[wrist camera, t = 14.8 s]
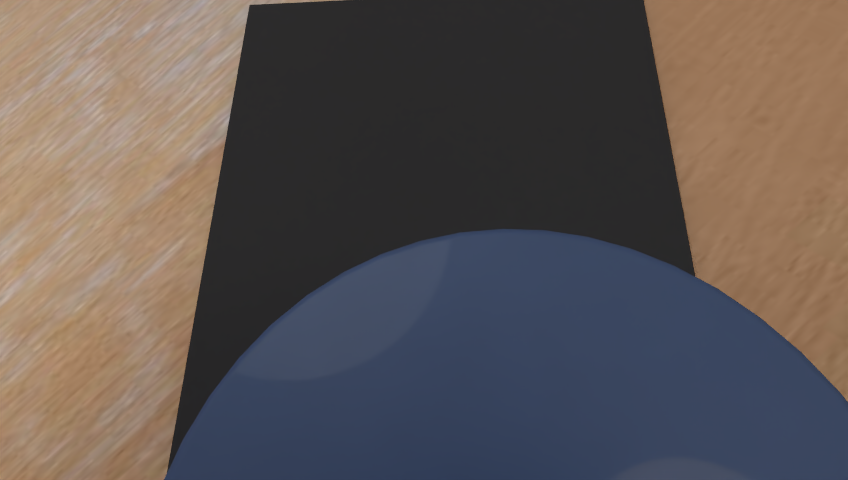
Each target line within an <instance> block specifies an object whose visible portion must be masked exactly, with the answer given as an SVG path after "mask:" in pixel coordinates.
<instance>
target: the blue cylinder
mask: <svg viewBox="0 0 848 480" xmlns="http://www.w3.org/2000/svg"><path fill="white" fill-rule="evenodd" d="M164 480H848V402H847V401H846V399H845V398H844V397H843V396H842V394H841V393H840V392H839V391H838V390H837V389H836V388H835V387H834V386H833V385H832V384H831V383H830V382H829V381H828V380H827V379H826V378H825V377H824V375H823V374H822V373H821V372H820V371H819V370H818V369H817V368H816V367H815V366H814V365H813V364H812V363H811V362H810V361H809V360H808V359H807V358H806V357H805V356H804V355H803V354H802V353H801V352H800V351H799V350H798V349H797V348H795V347H794V346H793V345H792V344H791V343H790V342H788V341H787V340H786V339H785V338H784V337H782V336H781V335H780V334H779V333H778V332H776V331H775V330H774V329H773V328H772V327H771V326H769V325H768V324H767V323H766V322H765V321H763V320H762V319H761V318H760V317H758V316H757V315H755V314H754V313H753V312H751V311H750V310H748V309H747V308H745V307H744V306H742V305H741V304H739V303H738V302H736V301H735V300H733V299H732V298H730V297H729V296H727V295H726V294H725V293H723V292H722V291H720V290H719V289H717V288H715V287H713V286H711V285H709V284H708V283H706V282H704V281H702V280H700V279H698V278H696V277H694V276H693V275H691V274H689V273H687V272H685V271H683V270H681V269H679V268H678V267H676V266H674V265H671V264H668V263H666V262H663V261H661V260H658V259H656V258H653V257H651V256H648V255H646V254H643V253H641V252H638V251H636V250H633V249H631V248H627V247H623V246H620V245H616V244H612V243H609V242H605V241H601V240H598V239H594V238H590V237H586V236H579V235H573V234H566V233H560V232H553V231H547V230H522V229H495V230H483V231H472V232H460V233H456V234H451V235H446V236H441V237H437V238H432V239H427V240H422V241H418V242H415V243H413V244H410V245H407V246H404V247H401V248H398V249H395V250H392V251H389V252H386V253H383V254H380V255H378V256H376V257H374V258H372V259H370V260H368V261H366V262H364V263H362V264H359V265H357V266H355V267H353V268H351V269H349V270H347V271H345V272H343V273H341V274H340V275H338V276H337V277H335V278H333V279H332V280H330V281H329V282H327V283H326V284H324V285H322V286H321V287H319V288H318V289H316V290H315V291H313V292H311V293H310V294H308V295H307V296H305V297H304V298H303V299H302V300H300V301H299V302H298V303H297V304H296V305H294V306H293V307H292V308H291V309H289V310H288V311H287V312H286V313H285V314H283V315H282V316H281V317H280V318H278V319H277V320H276V321H275V322H274V323H272V324H271V325H270V326H269V327H268V328H267V329H266V330H265V331H264V332H263V333H262V334H261V336H260V337H259V338H258V339H257V340H256V341H255V342H254V343H253V344H252V345H251V346H250V347H249V348H248V349H247V350H246V351H245V352H244V353H243V354H242V355H241V356H240V357H239V358H238V360H237V361H236V362H235V364H234V365H233V366H232V367H231V369H230V370H229V371H228V373H227V374H226V375H225V376H224V378H223V379H222V380H221V382H220V383H219V384H218V386H217V387H216V388H215V389H214V391H213V392H212V393H211V395H210V396H209V398H208V399H207V401H206V403H205V404H204V406H203V407H202V409H201V411H200V412H199V414H198V416H197V417H196V419H195V421H194V422H193V424H192V425H191V427H190V429H189V430H188V432H187V434H186V435H185V437H184V439H183V441H182V443H181V445H180V447H179V449H178V451H177V453H176V455H175V458H174V460H173V462H172V464H171V466H170V468H169V470H168V472H167V475H166V477H165V479H164Z"/></svg>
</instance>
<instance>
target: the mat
mask: <svg viewBox="0 0 848 480" xmlns="http://www.w3.org/2000/svg"><path fill="white" fill-rule="evenodd" d="M495 229H522V230H547V231H553V232H560V233H566V234H573V235H579V236H586V237H590V238H594V239H598V240H601V241H605V242H609V243H612V244H616V245H620V246H623V247H627V248H631V249H633V250H636V251H638V252H641V253H643V254H646V255H648V256H651V257H653V258H656V259H658V260H661V261H663V262H666V263H668V264H671V265H674V266H676V267H678V268H679V269H681V270H683V271H685V272H687V273H689V274H691V275H693V276H694V277H695V272H694V267H693V262H692V256H691V251H690V246H689V240H688V235H687V230H686V224H685V219H684V214H683V208H682V203H681V198H680V192H679V187H678V182H677V176H676V171H675V166H674V161H673V155H672V150H671V145H670V139H669V134H668V129H667V123H666V118H665V113H664V107H663V102H662V97H661V91H660V86H659V81H658V75H657V70H656V65H655V59H654V54H653V49H652V43H651V38H650V33H649V27H648V22H647V17H646V11H645V6H644V1H643V0H343V1H323V2H302V3H282V4H262V5H250V7H249V12H248V18H247V24H246V29H245V35H244V41H243V46H242V52H241V58H240V63H239V69H238V74H237V80H236V86H235V91H234V97H233V103H232V108H231V114H230V120H229V125H228V131H227V137H226V142H225V148H224V154H223V159H222V165H221V171H220V176H219V182H218V188H217V193H216V199H215V205H214V210H213V216H212V222H211V227H210V233H209V239H208V244H207V250H206V256H205V261H204V267H203V273H202V278H201V284H200V290H199V295H198V301H197V307H196V312H195V318H194V324H193V329H192V335H191V341H190V346H189V352H188V357H187V363H186V369H185V374H184V380H183V386H182V391H181V397H180V403H179V408H178V414H177V420H176V425H175V431H174V437H173V442H172V448H171V454H170V459H169V465H168V470H169V468H170V466H171V464H172V462H173V460H174V458H175V455H176V453H177V451H178V449H179V447H180V445H181V443H182V441H183V439H184V437H185V435H186V434H187V432H188V430H189V429H190V427H191V425H192V424H193V422H194V421H195V419H196V417H197V416H198V414H199V412H200V411H201V409H202V407H203V406H204V404H205V403H206V401H207V399H208V398H209V396H210V395H211V393H212V392H213V391H214V389H215V388H216V387H217V386H218V384H219V383H220V382H221V380H222V379H223V378H224V376H225V375H226V374H227V373H228V371H229V370H230V369H231V367H232V366H233V365H234V364H235V362H236V361H237V360H238V358H239V357H240V356H241V355H242V354H243V353H244V352H245V351H246V350H247V349H248V348H249V347H250V346H251V345H252V344H253V343H254V342H255V341H256V340H257V339H258V338H259V337H260V336H261V334H262V333H263V332H264V331H265V330H266V329H267V328H268V327H269V326H270V325H271V324H272V323H274V322H275V321H276V320H277V319H278V318H280V317H281V316H282V315H283V314H285V313H286V312H287V311H288V310H289V309H291V308H292V307H293V306H294V305H296V304H297V303H298V302H299V301H300V300H302V299H303V298H304V297H305V296H307V295H308V294H310V293H311V292H313V291H315V290H316V289H318V288H319V287H321V286H322V285H324V284H326V283H327V282H329V281H330V280H332V279H333V278H335V277H337V276H338V275H340V274H341V273H343V272H345V271H347V270H349V269H351V268H353V267H355V266H357V265H359V264H362V263H364V262H366V261H368V260H370V259H372V258H374V257H376V256H378V255H380V254H383V253H386V252H389V251H392V250H395V249H398V248H401V247H404V246H407V245H410V244H413V243H415V242H418V241H422V240H427V239H432V238H437V237H441V236H446V235H451V234H456V233H460V232H472V231H483V230H495ZM167 472H168V471H167Z"/></svg>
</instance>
